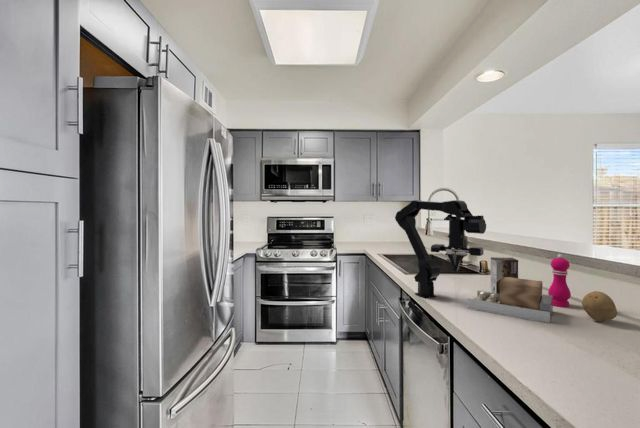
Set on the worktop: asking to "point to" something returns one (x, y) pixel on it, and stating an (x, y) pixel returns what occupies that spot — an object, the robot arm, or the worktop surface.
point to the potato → (599, 306)
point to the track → (512, 307)
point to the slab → (521, 292)
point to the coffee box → (502, 271)
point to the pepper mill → (560, 282)
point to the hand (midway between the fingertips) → (456, 271)
